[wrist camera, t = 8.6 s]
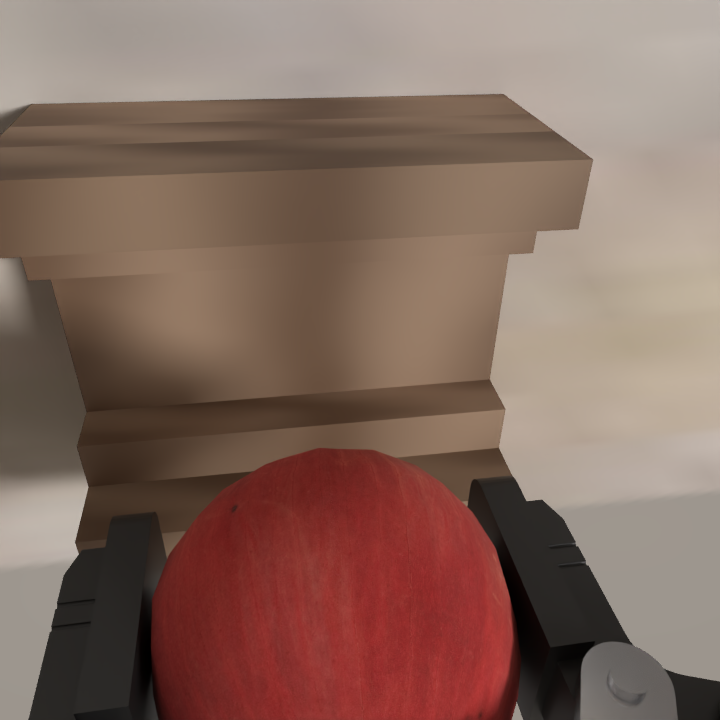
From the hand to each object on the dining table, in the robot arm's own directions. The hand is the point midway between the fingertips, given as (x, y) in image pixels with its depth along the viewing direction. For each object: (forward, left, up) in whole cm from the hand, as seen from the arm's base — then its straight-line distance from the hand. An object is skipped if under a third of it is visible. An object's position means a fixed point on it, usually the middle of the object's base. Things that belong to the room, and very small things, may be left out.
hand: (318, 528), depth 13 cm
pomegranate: (0, 0, -2) cm, 2 cm away
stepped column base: (0, 0, -9) cm, 9 cm away
